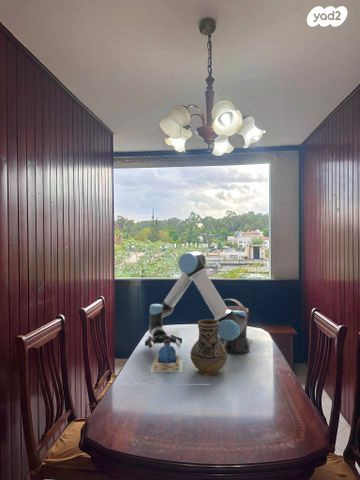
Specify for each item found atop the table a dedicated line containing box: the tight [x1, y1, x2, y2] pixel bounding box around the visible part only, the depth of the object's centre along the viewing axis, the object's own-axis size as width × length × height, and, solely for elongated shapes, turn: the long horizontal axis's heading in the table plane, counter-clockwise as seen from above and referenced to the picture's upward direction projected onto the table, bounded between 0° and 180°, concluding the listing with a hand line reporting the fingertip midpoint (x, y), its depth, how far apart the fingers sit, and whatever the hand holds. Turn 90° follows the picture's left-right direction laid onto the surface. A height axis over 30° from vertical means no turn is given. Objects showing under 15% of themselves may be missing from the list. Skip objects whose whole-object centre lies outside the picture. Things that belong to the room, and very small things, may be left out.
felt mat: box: [149, 359, 184, 373], centre depth 179 cm, size 16×16×1 cm
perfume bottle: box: [158, 339, 177, 363], centre depth 179 cm, size 6×6×12 cm
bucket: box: [220, 298, 250, 342], centre depth 229 cm, size 24×22×25 cm
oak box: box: [154, 354, 180, 370], centre depth 179 cm, size 12×12×3 cm
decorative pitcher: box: [190, 318, 228, 376], centre depth 171 cm, size 22×18×25 cm
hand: (166, 346), depth 179 cm, fingers open, 13 cm apart
